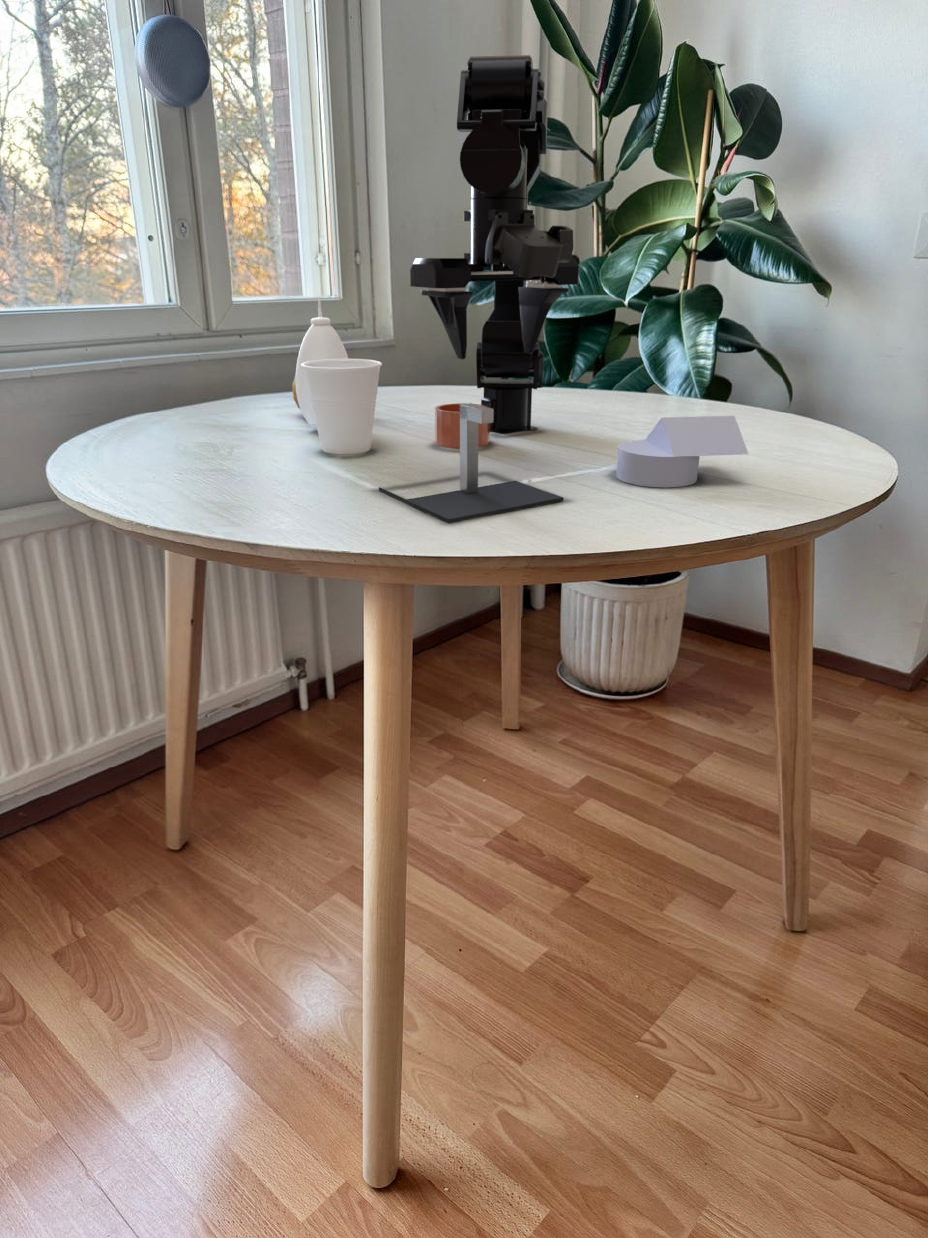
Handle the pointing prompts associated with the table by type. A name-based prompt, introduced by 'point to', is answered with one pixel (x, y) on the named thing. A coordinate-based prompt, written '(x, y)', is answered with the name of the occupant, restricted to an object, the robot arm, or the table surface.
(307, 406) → the sauce bottle
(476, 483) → the hex key
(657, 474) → the wedge on round base
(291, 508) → the table surface
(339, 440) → the cup
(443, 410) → the pencil pot
